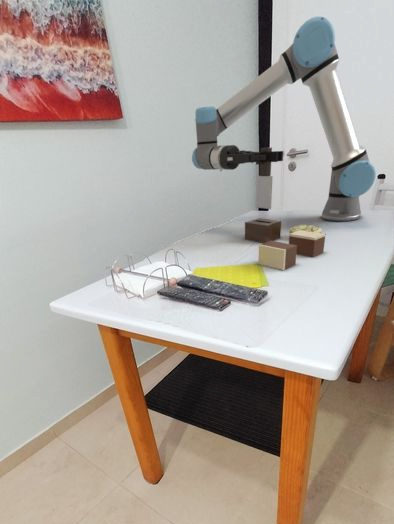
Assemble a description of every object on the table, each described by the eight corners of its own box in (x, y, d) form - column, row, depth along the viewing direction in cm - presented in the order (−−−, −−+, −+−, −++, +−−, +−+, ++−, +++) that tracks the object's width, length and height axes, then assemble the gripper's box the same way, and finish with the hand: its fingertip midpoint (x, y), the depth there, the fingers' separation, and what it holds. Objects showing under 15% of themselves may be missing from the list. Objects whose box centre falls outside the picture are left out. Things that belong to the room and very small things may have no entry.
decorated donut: (314, 243, 113) (316, 231, 111) (284, 240, 119) (285, 229, 117) (324, 235, 120) (326, 224, 118) (295, 233, 126) (296, 222, 124)
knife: (258, 206, 119) (260, 147, 109) (272, 208, 115) (275, 147, 105) (255, 207, 118) (257, 148, 108) (269, 209, 114) (271, 147, 104)
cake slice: (271, 240, 99) (258, 244, 96) (297, 245, 93) (284, 250, 91) (270, 259, 102) (258, 264, 99) (295, 264, 96) (283, 270, 93)
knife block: (259, 234, 128) (259, 218, 125) (280, 238, 122) (281, 220, 118) (244, 239, 124) (244, 222, 121) (266, 243, 117) (266, 225, 114)
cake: (298, 248, 110) (300, 230, 107) (323, 252, 104) (325, 233, 101) (288, 252, 107) (289, 233, 104) (312, 257, 101) (315, 237, 98)
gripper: (240, 167, 126) (293, 167, 110) (211, 171, 118) (263, 172, 103) (240, 143, 122) (295, 140, 107) (210, 147, 114) (264, 144, 99)
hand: (279, 156), depth 105 cm, fingers closed on knife, 2 cm apart
